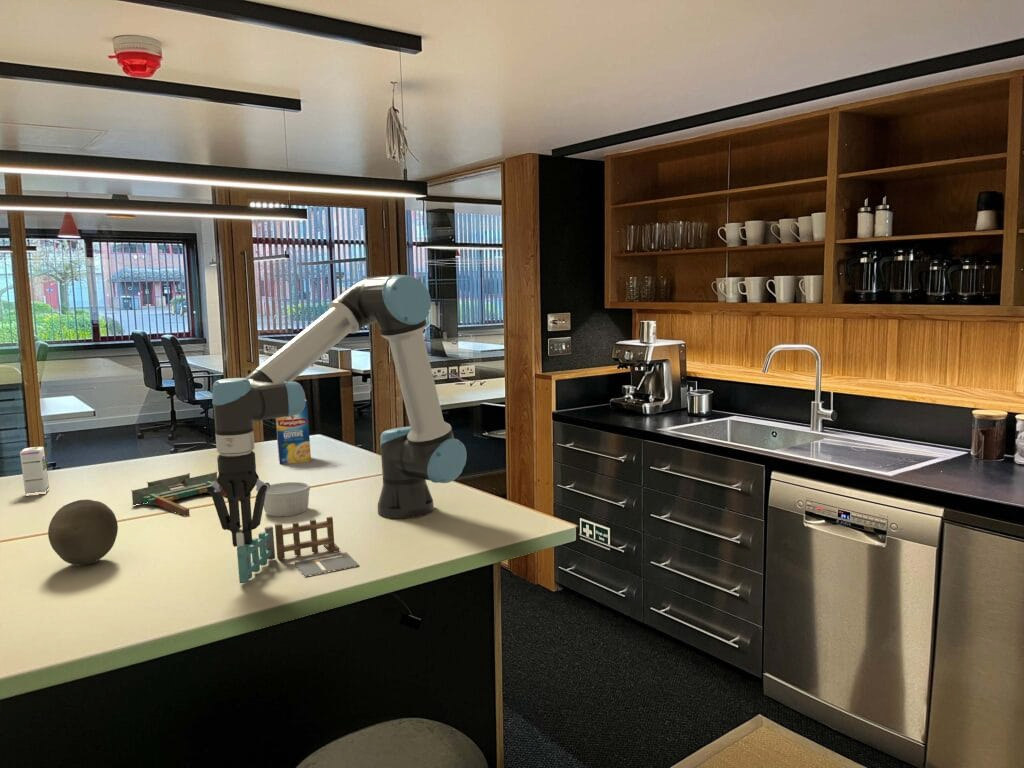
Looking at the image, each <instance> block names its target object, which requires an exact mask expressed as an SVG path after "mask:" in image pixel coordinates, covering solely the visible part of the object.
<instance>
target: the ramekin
mask: <svg viewBox="0 0 1024 768" xmlns="http://www.w3.org/2000/svg"><path fill="white" fill-rule="evenodd" d="M310 490H311V489H310V484H309V483H306V482H301V481H285V482H277V483H272V484H270V487H269V489H268V490H267V492H266V495H265V500H264V506H263V511H264V512H265V513H266V514H267V515H268V516H270V517H274V516H276V517H277V518H278V516H279V517H281V516H284V517H292V516H297V515H300V514H302V512H303V513H305V511H307V509H308V507H309V498H310ZM299 513H300V514H299ZM296 514H297V515H296ZM291 515H292V516H291Z"/></svg>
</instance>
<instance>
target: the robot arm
mask: <svg viewBox="0 0 1024 768" xmlns="http://www.w3.org/2000/svg"><path fill="white" fill-rule="evenodd" d="M431 305H432V300H431V295H430V293H429V289H428V288H427V286H426V285H425V284H424V282H422V281H421V280H420V279H418V278H416V277H415V276H413V275H404V274H393V275H392V274H391V275H380V276H377V275H375V276H368V277H365V278H362V279H361V280H359V281H358V282H356V283H354V284H353V285H352V286H351V287H349V288H348V289H346V290H345V291H344V292H342V293H341V294H340V295H338V297H336V298H335V299H333V300H332V301H331V302H330V303H329V305H328V306H329V307H328V310H326V311H325V312H324V313H323V314H322V315H320V316H319V317H317V319H316V320H314V321H313V322H311V324H309V325H308V326H307V327H306V328H304V329H303V330H301V332H299V333H298V334H297V335H296V336H294V337H293V338H292V339H291V340H289V342H287V343H286V344H285V345H284V346H282V347H281V348H280V349H279V350H277V351H276V352H275V353H274V354H272V355H271V356H270V357H269V358H267V360H265V361H264V362H262V363H261V364H260V365H259V366H258V367H256V368H255V369H254V370H253V371H251V372H250V373H249V374H247V375H246V376H245V377H233V378H222V379H217V380H216V381H215V382H213V384H212V392H211V393H212V396H211V397H212V401H211V405H212V407H213V418H214V428H215V444H216V452H217V453H218V455H217V457H216V459H217V460H216V461H217V462H216V463H217V473H218V474H217V482H215V483H214V484H212V485H210V486H209V487H207V491H208V492H207V493H208V494H209V495H210V497H211V499H212V500H213V504H214V507H215V510H216V513H217V516H218V517H217V518H218V520H219V523H220V526H221V528H222V530H224V531H226V530H227V531H230V532H231V539H232V540H231V541H232V546H233V547H234V548H235V547H236V549H237V548H238V547H239V546H244V545H245V544H250V545H251V544H252V539H253V533H252V532H253V530H255V529H257V528H258V527H259V526H260V525H261V520H262V516H263V511H264V507H263V506H264V500H265V495H266V492H267V490H268V489H269V487H270V485H271V484H270V483H269V482H263V481H262V480H260V479H259V478H260V477H259V475H258V473H257V463H256V453H255V452H254V450H255V437H254V435H255V434H254V422H259V421H265V420H272V419H276V418H280V417H289V416H292V415H297V414H300V413H301V412H302V411H303V409H304V407H305V402H306V401H305V398H306V393H305V390H304V388H303V386H302V384H300V383H299V382H297V381H294V380H295V379H296V378H297V377H299V376H300V375H301V374H302V373H304V372H305V371H306V370H307V369H308V368H309V367H310V366H312V365H313V364H315V362H317V361H318V360H319V359H320V358H322V356H324V355H325V354H326V353H328V351H330V350H331V349H332V348H333V347H334V346H336V345H337V344H338V343H339V342H340V341H341V340H343V339H344V338H345V337H346V336H348V335H349V334H356V333H358V332H359V331H360V330H361V329H363V328H364V327H367V326H369V325H372V324H377V326H378V330H379V332H380V333H379V334H380V336H381V337H382V338H384V339H386V340H387V341H388V343H389V347H390V351H391V355H392V358H393V359H392V360H393V363H394V367H395V371H396V374H397V379H398V383H399V387H400V391H401V394H402V398H403V403H404V406H405V409H406V410H405V411H406V415H407V418H408V422H409V426H401V427H395V428H391V429H387V430H384V431H383V432H381V434H380V444H379V447H380V455H381V456H380V458H381V472H382V473H381V474H382V488H381V491H380V495H379V498H378V503H377V514H378V515H379V516H381V517H383V518H384V517H385V518H388V519H389V518H390V519H410V518H417V517H418V518H419V517H422V516H425V515H428V514H430V513H431V512H433V511H434V510H435V509H434V500H433V496H432V494H431V492H430V489H429V486H428V483H427V481H430V482H432V483H436V484H437V483H439V484H440V483H441V484H448V483H451V482H453V481H454V480H456V479H457V478H458V477H459V476H460V475H461V474H462V472H463V470H464V467H466V464H467V463H466V462H467V457H468V456H467V455H468V453H467V449H466V447H465V445H464V443H463V442H462V441H460V440H459V439H458V438H455V436H454V432H453V428H452V426H451V424H450V423H448V422H446V421H445V420H444V417H443V411H442V407H441V404H440V399H439V396H438V391H437V388H436V382H435V379H434V375H433V374H434V373H433V371H432V365H431V362H430V357H429V353H428V350H427V346H426V341H425V337H424V330H425V328H426V327H427V326H428V324H427V318H428V316H429V314H430V312H429V310H431V307H432V306H431ZM255 487H256V488H255ZM221 488H222V489H223V490H224V491H225V492H226V494H227V497H226V499H227V502H228V507H227V504H226V501H225V498H224V497H225V496H223V494H222V492H221ZM254 488H255V490H256V492H257V493H256V496H255V501H254V506H253V512H252V503H251V502H252V501H251V497H252V491H253V490H254ZM238 498H239V499H238ZM239 500H240V501H239ZM239 503H240V504H239ZM240 510H241V511H240ZM240 513H241V514H240ZM240 516H241V517H240Z"/></svg>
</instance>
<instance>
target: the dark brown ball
mask: <svg viewBox="0 0 1024 768" xmlns="http://www.w3.org/2000/svg"><path fill="white" fill-rule="evenodd" d="M117 520H118V519H117V518H116V514H115V513H114V511H113V510H112V508H110V507H109V506H108V505H107V504H105V503H104V502H102V501H98V500H93V499H79V500H75V501H72V502H70V503H66V504H65V505H62V506H61V507H60V508H59V509H58V510H57V511H55V514H54V515H53V517H52V518H51V520H50V522H49V525H48V531H47V537H48V541H49V544H50V546H51V548H52V550H53V551H54V552H55V553H56V554H57V556H58V557H59V558H60V559H61V560H62V561H64V562H65V563H67V564H70V565H73V566H87V565H92V564H93V563H94V562H97V561H99V560H101V559H102V558H104V557H105V556H106V555H107V554H108V553H110V552H111V550H112V548H114V547H113V546H114V544H115V543H116V539H117V536H118V530H119V526H118V525H119V524H118V521H117Z"/></svg>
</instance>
